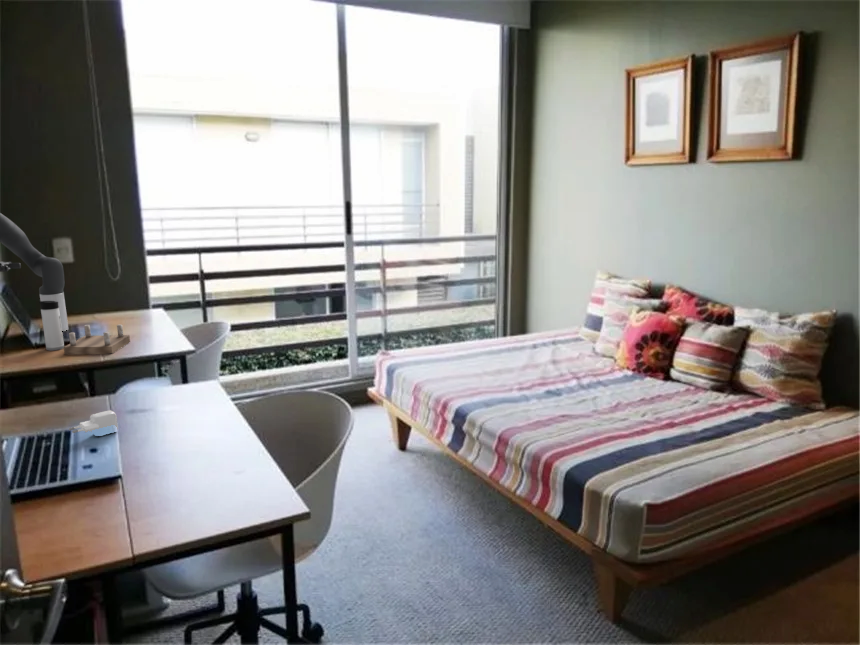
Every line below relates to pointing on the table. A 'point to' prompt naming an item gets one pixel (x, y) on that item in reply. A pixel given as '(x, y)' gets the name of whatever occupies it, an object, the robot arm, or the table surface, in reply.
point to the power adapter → (97, 422)
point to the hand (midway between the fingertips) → (14, 267)
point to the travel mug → (52, 325)
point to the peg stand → (96, 342)
